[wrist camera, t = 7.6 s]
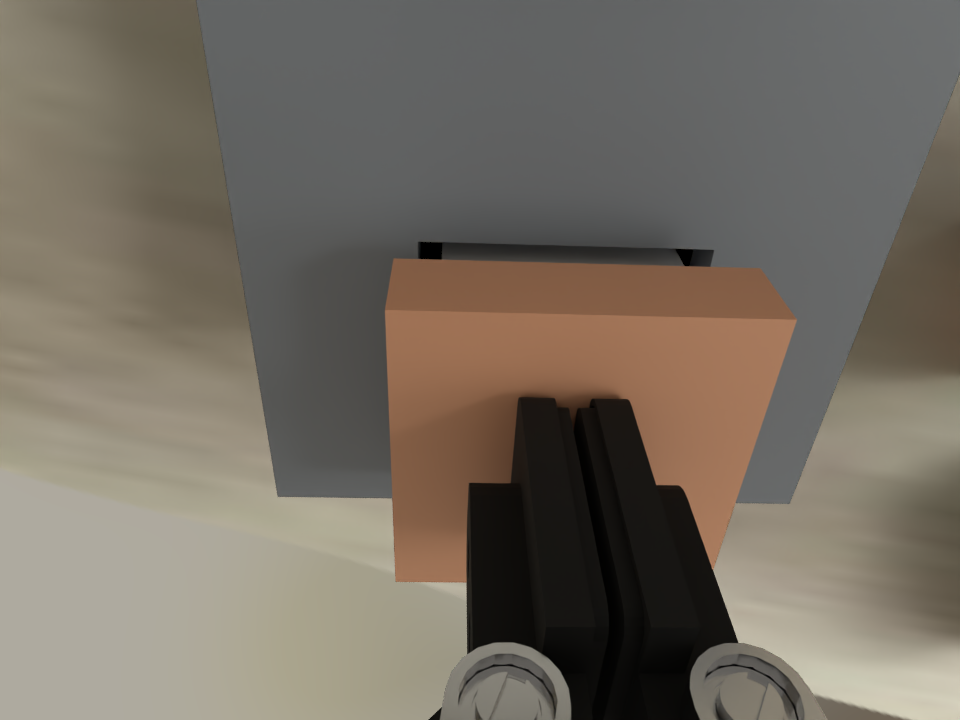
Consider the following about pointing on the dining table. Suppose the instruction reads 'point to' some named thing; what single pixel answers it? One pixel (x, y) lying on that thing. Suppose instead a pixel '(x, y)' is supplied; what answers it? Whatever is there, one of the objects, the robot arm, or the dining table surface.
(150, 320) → the dining table surface
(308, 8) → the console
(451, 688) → the robot arm
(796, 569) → the dining table surface
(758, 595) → the dining table surface
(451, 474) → the orange square block
